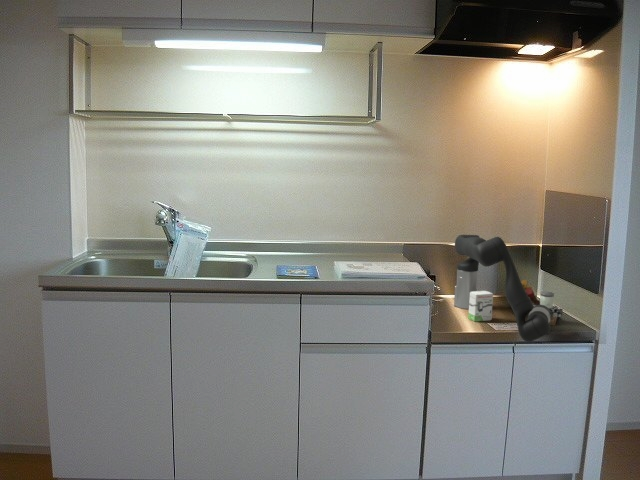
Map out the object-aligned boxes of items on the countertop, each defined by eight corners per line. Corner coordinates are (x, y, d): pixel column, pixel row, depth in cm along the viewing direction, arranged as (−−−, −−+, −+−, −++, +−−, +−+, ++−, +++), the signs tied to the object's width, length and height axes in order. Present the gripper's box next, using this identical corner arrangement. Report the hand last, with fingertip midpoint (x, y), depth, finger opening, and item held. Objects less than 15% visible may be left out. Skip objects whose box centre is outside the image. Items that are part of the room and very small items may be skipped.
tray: (532, 322, 225) (533, 317, 225) (536, 314, 236) (536, 310, 236) (554, 325, 221) (555, 320, 221) (557, 317, 232) (557, 313, 232)
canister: (537, 318, 226) (540, 293, 224) (539, 315, 231) (541, 290, 229) (551, 320, 224) (553, 295, 222) (552, 317, 228) (554, 292, 227)
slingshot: (548, 304, 252) (559, 303, 237) (533, 320, 252) (543, 320, 237) (521, 279, 255) (530, 277, 240) (506, 295, 255) (514, 293, 240)
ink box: (474, 321, 224) (476, 294, 223) (467, 318, 229) (469, 291, 227) (492, 320, 227) (493, 293, 225) (485, 316, 232) (486, 290, 230)
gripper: (560, 310, 199) (564, 300, 213) (520, 304, 206) (526, 295, 220) (559, 329, 200) (562, 318, 214) (518, 323, 207) (524, 313, 221)
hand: (544, 306), depth 217 cm, fingers open, 8 cm apart
